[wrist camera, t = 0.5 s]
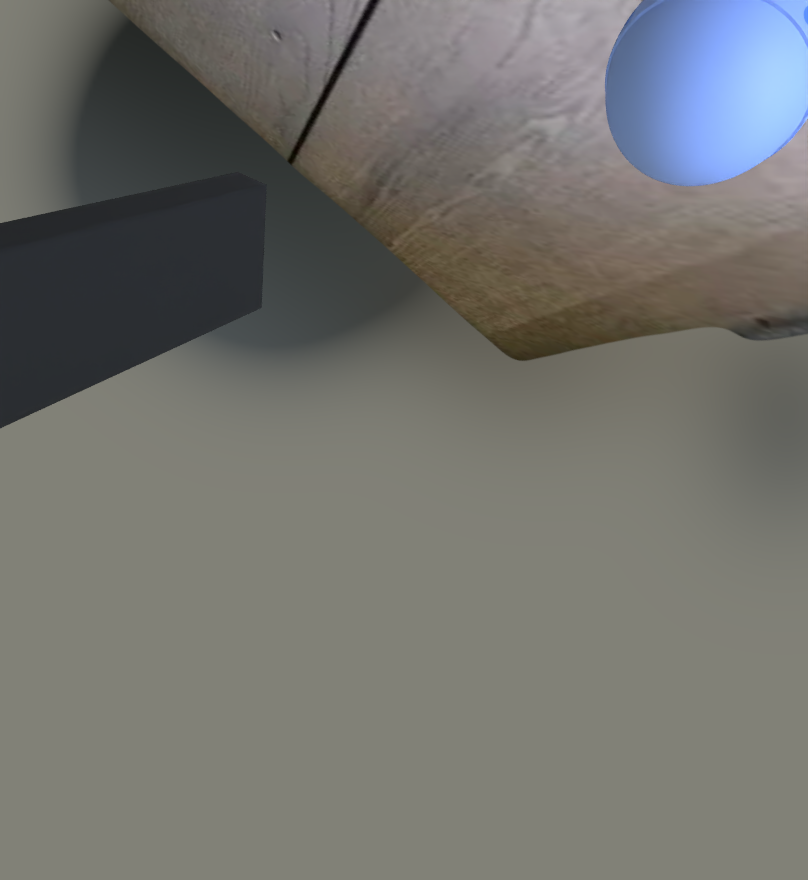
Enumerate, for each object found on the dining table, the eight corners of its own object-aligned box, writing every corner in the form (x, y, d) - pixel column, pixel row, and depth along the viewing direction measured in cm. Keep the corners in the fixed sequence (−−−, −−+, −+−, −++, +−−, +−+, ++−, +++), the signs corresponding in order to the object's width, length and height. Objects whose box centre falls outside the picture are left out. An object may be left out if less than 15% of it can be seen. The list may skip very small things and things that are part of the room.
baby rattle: (886, -8, 31) (764, 243, 26) (711, -3, 35) (577, 212, 30) (965, -245, 24) (818, 38, 19) (733, -203, 28) (563, 36, 23)
